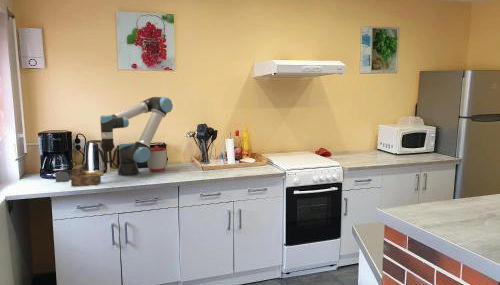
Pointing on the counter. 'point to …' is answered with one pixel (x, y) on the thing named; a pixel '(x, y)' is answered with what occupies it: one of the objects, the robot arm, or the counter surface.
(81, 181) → the brown wooden l-shaped block
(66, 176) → the v block
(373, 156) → the counter surface
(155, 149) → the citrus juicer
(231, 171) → the counter surface
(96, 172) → the axle
